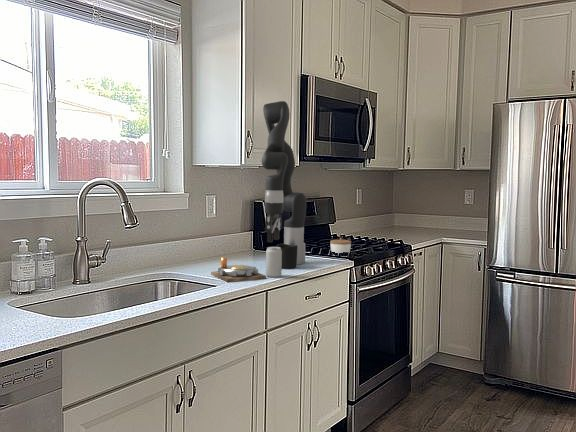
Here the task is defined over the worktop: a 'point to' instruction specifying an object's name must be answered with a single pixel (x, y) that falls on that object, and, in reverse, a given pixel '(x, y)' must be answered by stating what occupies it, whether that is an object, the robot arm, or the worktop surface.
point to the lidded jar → (340, 246)
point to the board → (237, 277)
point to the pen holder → (288, 256)
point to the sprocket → (236, 269)
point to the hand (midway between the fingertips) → (273, 241)
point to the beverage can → (273, 262)
